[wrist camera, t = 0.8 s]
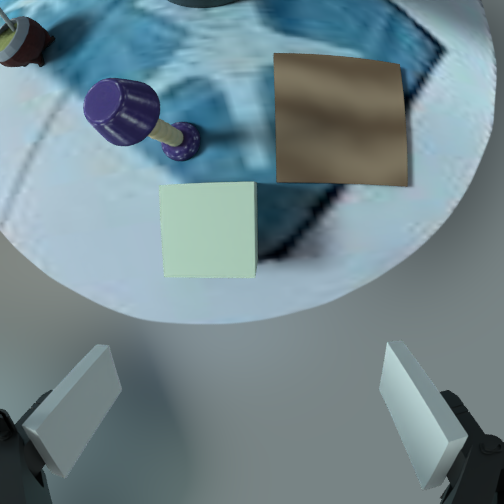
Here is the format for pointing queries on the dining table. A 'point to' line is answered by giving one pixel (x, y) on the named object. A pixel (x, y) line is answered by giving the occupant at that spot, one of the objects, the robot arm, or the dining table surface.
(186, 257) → the sage block
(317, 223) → the dining table surface
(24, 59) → the mate gourd
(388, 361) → the robot arm
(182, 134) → the toy lamp
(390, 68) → the walnut board
